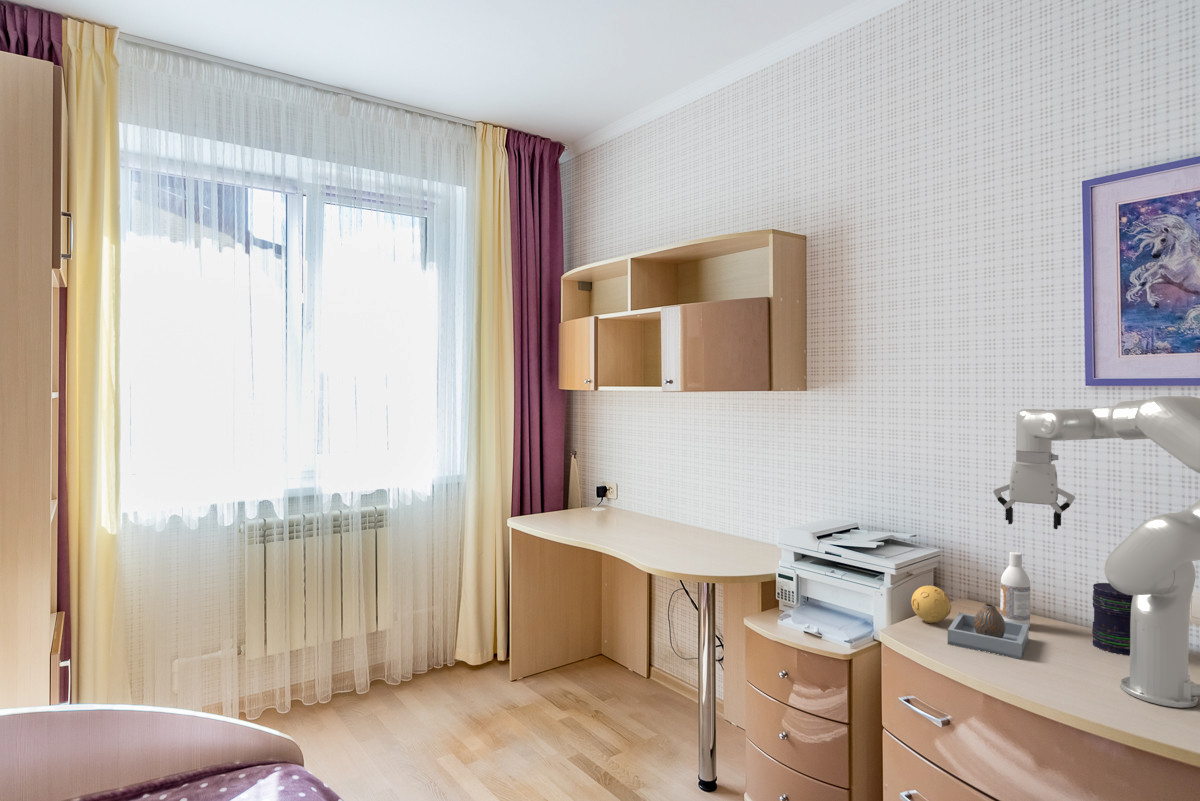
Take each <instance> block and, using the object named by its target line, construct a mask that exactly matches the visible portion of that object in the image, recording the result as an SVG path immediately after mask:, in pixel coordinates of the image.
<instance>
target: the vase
mask: <svg viewBox="0 0 1200 801" xmlns="http://www.w3.org/2000/svg"><path fill="white" fill-rule="evenodd" d="M974 628H975V631H976V633H977V634H982V635H987V636H992V637H997V638H1002V637H1003V636H1004V633H1005V622H1004V619H1003V617H1002V616H1001V614H1000V611H999V610H998V609H997V608H996V605H994V604H991V603H984V604H983V607H982V608H981V609H979V611H978V612H976V614H975V619H974Z"/></svg>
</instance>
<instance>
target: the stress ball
mask: <svg viewBox="0 0 1200 801" xmlns="http://www.w3.org/2000/svg"><path fill="white" fill-rule="evenodd" d="M911 596H912V597H911V607H912V610H913V612H914V613H915V615H916V616H917V617H919V618H920V619H921V620H923V621H924V622H925V623H927V624H932V623H934V624H937V623H940V622H942V621H944V620H945V619H946V618H947V617H948V616H950V613H951V610H952V604H951V599H950V598H949V597H950V596H948V595H947V594H946V592H945V591H944V590H942V589H941V588H939V587H937V586H934V585H922V586H920V587H919V588H917V589H916V590H915V591H914V592H913V593H912V595H911Z"/></svg>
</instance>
